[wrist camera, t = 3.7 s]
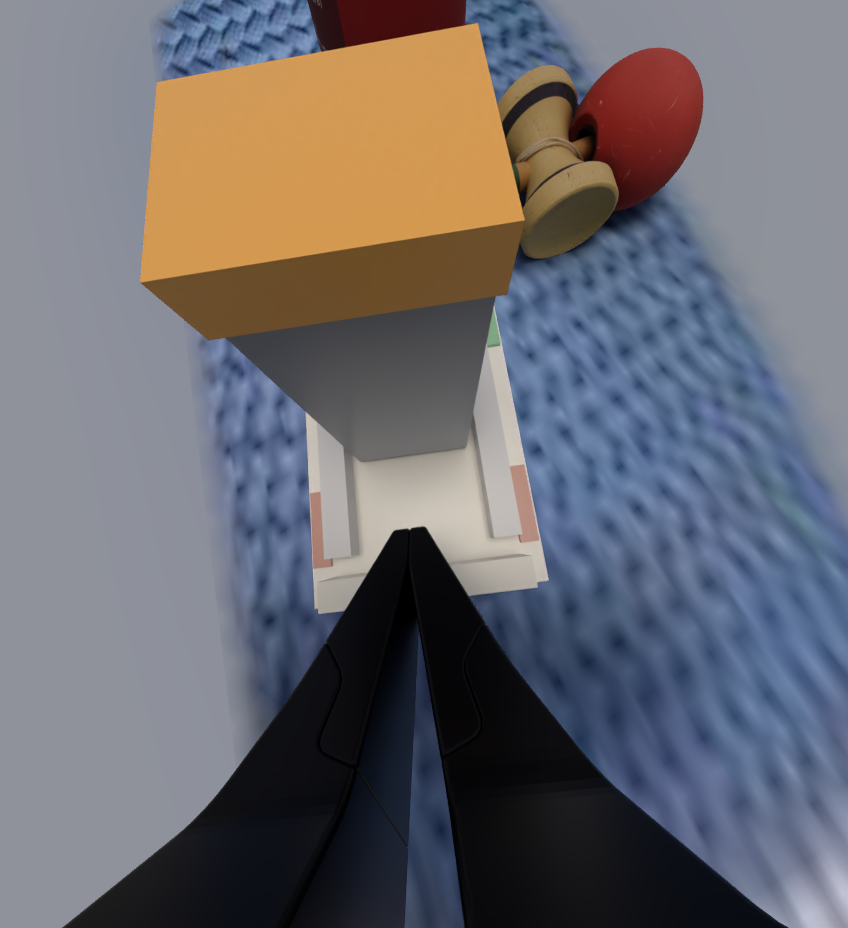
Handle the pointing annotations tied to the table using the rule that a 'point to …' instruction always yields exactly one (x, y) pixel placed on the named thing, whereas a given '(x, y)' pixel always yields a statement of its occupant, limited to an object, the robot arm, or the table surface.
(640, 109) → the kendama
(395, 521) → the railed base plate
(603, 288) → the table surface
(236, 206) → the handle
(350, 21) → the canned food
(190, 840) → the robot arm
